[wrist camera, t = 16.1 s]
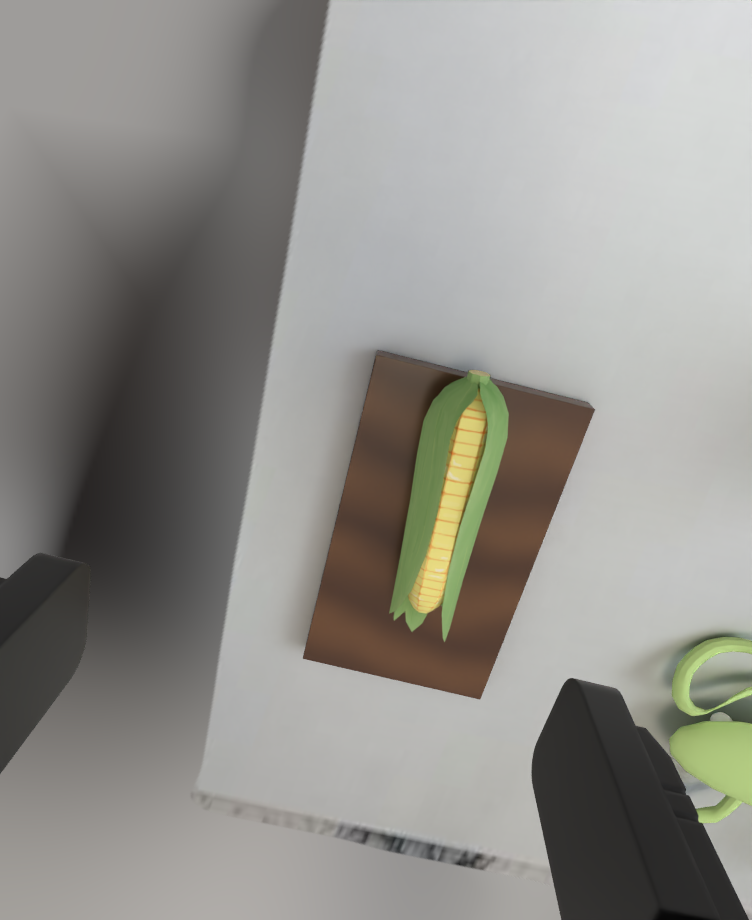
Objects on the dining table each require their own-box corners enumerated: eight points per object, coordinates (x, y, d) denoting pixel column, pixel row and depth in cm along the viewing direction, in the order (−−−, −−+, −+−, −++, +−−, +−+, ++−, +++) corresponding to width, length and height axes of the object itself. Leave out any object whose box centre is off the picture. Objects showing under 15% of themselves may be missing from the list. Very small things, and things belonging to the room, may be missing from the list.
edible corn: (517, 370, 37) (530, 390, 33) (446, 634, 44) (450, 678, 40) (434, 355, 37) (436, 373, 32) (377, 621, 44) (373, 664, 40)
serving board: (377, 349, 38) (376, 354, 37) (588, 402, 39) (595, 409, 37) (305, 645, 47) (302, 658, 46) (478, 685, 48) (480, 699, 46)
